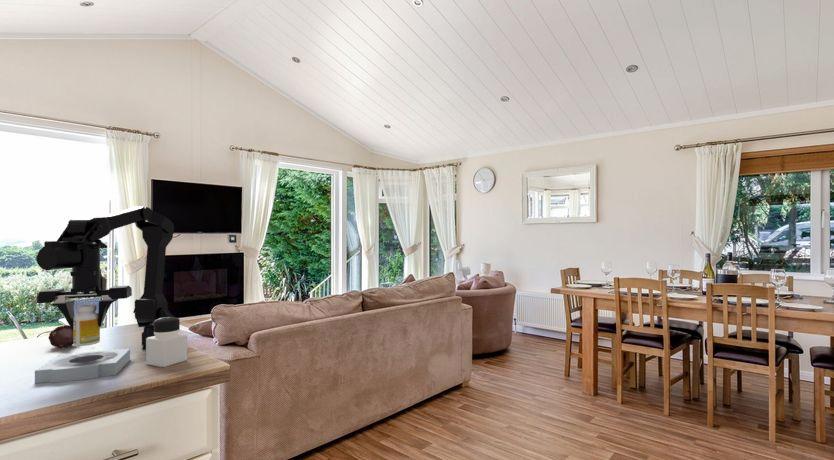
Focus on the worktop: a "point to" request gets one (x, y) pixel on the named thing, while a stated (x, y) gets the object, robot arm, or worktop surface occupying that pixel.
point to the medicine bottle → (166, 343)
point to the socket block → (82, 366)
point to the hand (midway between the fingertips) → (86, 327)
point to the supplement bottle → (86, 326)
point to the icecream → (61, 336)
